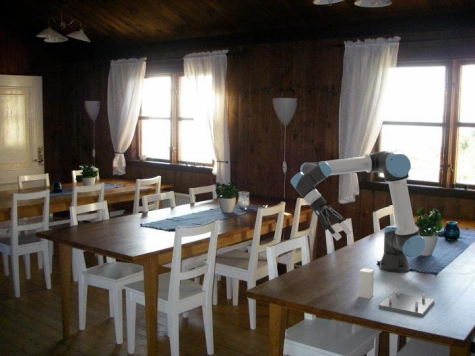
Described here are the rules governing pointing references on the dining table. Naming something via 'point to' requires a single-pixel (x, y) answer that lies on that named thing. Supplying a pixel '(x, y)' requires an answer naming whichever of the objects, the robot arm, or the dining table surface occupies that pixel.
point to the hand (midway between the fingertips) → (344, 236)
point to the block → (366, 283)
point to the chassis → (407, 304)
